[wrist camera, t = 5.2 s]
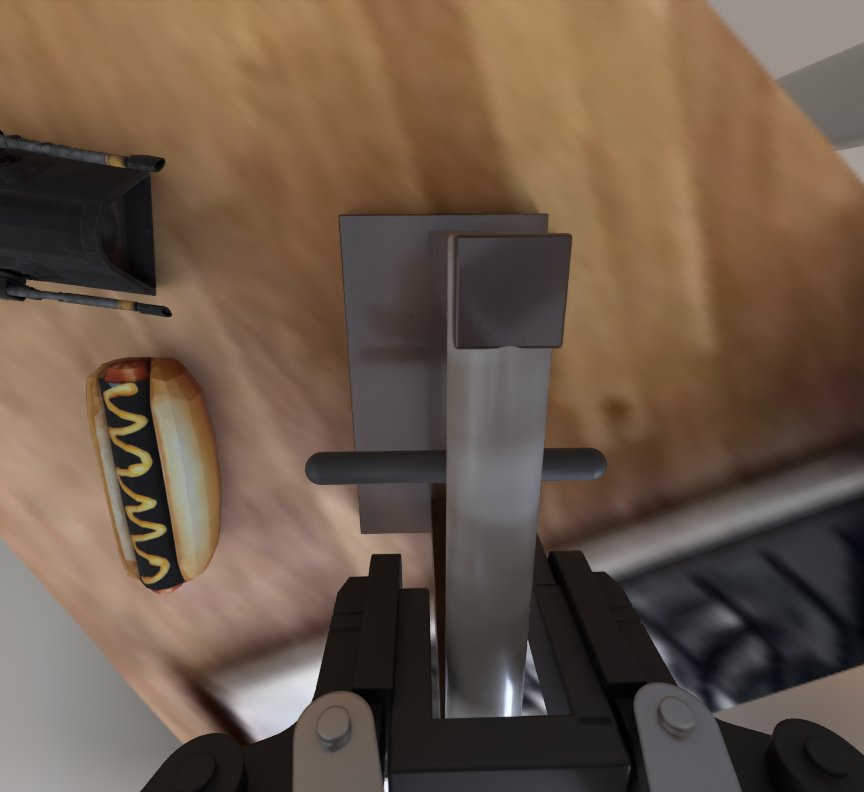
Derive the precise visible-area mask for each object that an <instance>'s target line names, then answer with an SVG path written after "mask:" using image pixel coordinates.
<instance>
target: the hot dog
mask: <svg viewBox="0 0 864 792" xmlns="http://www.w3.org/2000/svg"><path fill="white" fill-rule="evenodd" d="M86 400H87V414H88V420H89V424H90V429H91V433H92V438H93V442H94V447H95V451H96V456H97V460H98V465H99V469H100V473H101V478H102V482H103V487H104V491H105V495H106V500H107V504H108V509H109V513H110V518H111V522H112V526H113V531H114V535H115V539H116V544H117V548H118V553H119V555H120V558H121V561H122V563H123V566H124V569H125V570H126V572H127V574H128V575H129V576H131V577H133V578H135V579H137V580H139V581H141V582H142V583H143V584H144V585H145V586H146V588H149V589H151V590H152V591H153V592H156V593H158V594H161V595H162V594H166V593H171V592H174V591H175V590H176V589H178V588H179V587H180V586H181V585H182V584H183V583H184V582H187V581H190V580H193V579H195V578H196V577H197V576H199V575H200V574H201V573H203V572H204V571H205V570H206V568H207V566H208V565H209V563H210V561H211V559H212V557H213V554H214V552H215V549H216V547H217V544H218V542H219V534H220V513H221V480H220V472H219V464H218V456H217V448H216V440H215V435H214V432H213V428H212V425H211V421H210V417H209V414H208V410H207V407H206V403H205V400H204V396H203V392H202V389H201V387H200V386H199V385H198V383H197V382H196V381H195V379H194V378H193V377H192V375H191V374H190V373H189V371H188V370H187V369H186V368H185V367H184V366H183V365H182V364H181V363H179V362H178V361H176V360H175V359H166V358H152V357H128V358H122V359H117V360H113V361H110V362H107V363H104V364H102V365H101V366H100V367H99V368H98V369H97V370H96V371H95V372H94V373H93V374H91V375H90V376H89V377H88V378H87V386H86Z"/></svg>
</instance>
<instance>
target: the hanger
mask: <svg viewBox="0 0 864 792" xmlns="http://www.w3.org/2000/svg"><path fill="white" fill-rule="evenodd" d="M606 466H607V463H606V459H605V457H604V455H603V454H602V453H601V452H600V451H599V450H597V449H594V448H544V452H543V464H542V476H541V481H560V480H594V479H597V478H599V477H601V476H602V475H603V474H604V472H605V470H606ZM446 470H447V450H418V451H358V452H319V453H316V454H314V455H312V456H311V457H310V458H309V459H308V461H307V463H306V466H305V472H306V475H307V477H308V479H309V480H310V481H311V482H313V483H315V484H318V485H341V484H396V483H446ZM528 642H529V645H530V649H531V653H532V657H533V661H534V664H535V668H536V672H537V676H538V680H539V683H540V687H541V691H542V695H543V698H544V702H545V706H546V710H547V714H548V715H542V716H508V717H474V718H440V719H433V718H432V680H431V641H430V603H429V590H428V588H410V589H399V604H398V622H397V639H396V657H395V674H394V692H393V701H392V702H391V710H390V727H389V746H388V762H387V775H388V792H626V789H627V784H628V779H629V775H630V770H631V759H630V756H629V754H628V751H627V749H626V746H625V744H624V741H623V739H622V736H621V734H620V731H619V727H618V725H617V722H616V720H615V717H614V715H613V712H612V710H611V707H610V705H609V702H608V700H607V697H606V696H605V694H604V692H603V689H602V687H601V684H600V682H599V679H598V677H597V674H596V672H595V669H594V667H593V664H592V661H591V659H590V656H589V654H588V651H587V649H586V646H585V644H584V641H583V639H582V636H581V634H580V631H579V629H578V626H577V624H576V621H575V618H574V616H573V613H572V611H571V608H570V606H569V603H568V601H567V598H566V596H565V593H564V591H563V588H562V586H561V585H557V583H556V580H555V577H554V575H553V572H552V570H551V567H550V565H549V562H548V559H547V557H546V554H545V552H544V549H543V546H542V544H541V541H540V539H539V536H538V534H536V546H535V558H534V570H533V581H532V593H531V605H530V616H529V630H528Z"/></svg>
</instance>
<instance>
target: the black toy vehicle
mask: <svg viewBox="0 0 864 792" xmlns="http://www.w3.org/2000/svg"><path fill="white" fill-rule="evenodd" d="M164 165H165V159H164V158H159V157H154V156H148V155H131V156H130V157H129V158H128V157H125V156H119V155H113V154H107V153H100V152H94V151H88V150H82V149H76V148H70V147H68V146H63V145H54V144H52V143H51V142H46V143H41V142H39V141H33V140H27V139H23V138H21V137H20V136H19V135H11V136H7V135H4V134H3V132H2V131H1V130H0V299H3V300H16V301H24V300H25V299H26V298H29V299H36V300H42V299H53V300H58V301H61V302H68V303H75V304H83V305H91V306H99V307H106V308H114V309H122V310H130V311H139V312H140V313H143V314H150V315H157V316H163V317H171V316H172V313H171V311H170V310H169V309H168V308H167V307H165V306H158V305H150V304H143V303H138V302H133V301H125V300H118V299H110V298H102V297H95V296H87V295H79V294H72V293H62V292H59V293H55V292H47V291H40V290H36V289H35V288H33V287H29V286H27V285H24V284H26V279H28V280H35V281H44V282H54V283H62V284H69V285H77V286H84V287H92V288H99V289H107V290H114V291H122V292H129V293H137V294H144V295H152V296H156V278H155V259H154V240H153V222H152V203H151V185H150V171H151V172H159V171H160V170H161V169H162V168H163V167H164Z"/></svg>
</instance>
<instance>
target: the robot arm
mask: <svg viewBox="0 0 864 792" xmlns="http://www.w3.org/2000/svg"><path fill="white" fill-rule="evenodd" d="M548 562H549V565H550V567H551V570H552V572H553V575H554V577H555V580H556V583H557V585H561V586H562V588H563V591H564V593H565V596H566V598H567V601H568V603H569V606H570V608H571V611H572V613H573V616H574V618H575V621H576V624H577V626H578V629H579V631H580V634H581V636H582V639H583V641H584V644H585V646H586V649H587V651H588V654H589V656H590V659H591V661H592V664H593V667H594V669H595V672H596V674H597V677H598V679H599V682H600V684H601V687H602V689H603V692H604V694H605V696H606V697H607V700H608V702H609V705H610V707H611V710H612V712H613V715H614V717H615V720H616V722H617V725H618V727H619V731H620V734H621V736H622V739H623V741H624V744H625V746H626V749H627V751H628V754H629V756H630V759H631V770H630V775H629V779H628V784H627V789H626V792H864V755H863V754H862V753H860V752H859V751H858V750H857V749H856V748H854V747H853V746H852V745H851V744H849V743H848V742H847V741H846V740H845V739H843V738H842V737H840V736H839V735H837V734H836V733H834V732H832V731H831V730H829V729H827V728H825V727H823V726H821V725H819V724H816V723H814V722H810V721H807V720H802V719H786V720H783V721H781V722H779V723H778V724H777V725H776V727H775V728H774V731H773V734H772V735H769V734H765V733H762V732H758V731H755V730H751V729H747V728H744V727H740V726H736V725H733V724H730V723H727V722H724V721H721V720H719V719H717V718H715V717H714V716H713V715H712V713H711V712H710V711H709V710H708V708H707V707H706V706H705V705H704V704H703V703H702V702H701V701H700V700H699V699H697V698H696V697H695V696H694V695H692V694H691V693H689V692H687V691H686V690H684V689H682V688H680V687H678V685H677V684H676V682H675V680H674V679H673V677H672V675H671V673H670V672H669V670H668V668H667V666H666V664H665V663H664V661H663V659H662V657H661V656H660V654H659V652H658V650H657V648H656V647H655V645H654V643H653V641H652V640H651V638H650V636H649V634H648V633H647V631H646V629H645V627H644V625H643V624H641V620H640V618H639V617H638V615H637V613H636V611H635V609H633V608H632V604H631V602H630V601H629V599H628V597H627V595H626V593H625V592H624V590H623V588H622V587H621V586H620V585H619V584H618V583H617V582H616V581H615V580H614V579H612V578H611V577H610V576H609V575H608V574H607V573H606V572H592V570H591V568H590V566H589V564H588V562H587V560H586V558H585V556H584V554H583V553H582V552H581V551H579V550H575V551H550V552H549V556H548ZM399 589H402V562H401V554H372V556H371V562H370V568H369V575H368V576H363V577H349V579H348V580H347V581H346V582H345V584H344V585H343V586H342V588H341V589H340V590H339V592H338V593H337V598H336V602H335V606H334V611H333V615H332V620H331V624H330V631H329V633H328V637H327V642H326V646H325V651H324V655H323V659H322V664H321V668H320V673H319V677H318V681H317V686H316V690H315V694H314V697H313V699H312V702H311V704H310V705H308V706H307V707H306V709H305V710H304V711H303V712H302V714H301V715H300V717H299V719H298V720H297V721H296V722H295V723H294V724H293V725H292V726H290V727H289V728H288V729H286V730H284V731H283V732H281V733H279V734H277V735H274V736H272V737H269V738H267V739H264V740H261V741H258V742H256V743H253V744H250V745H247V746H245V747H242V748H241V746H240V745H239V743H238V742H237V741H236V740H235V739H234V738H233V737H231V736H229V735H226V734H223V733H211V734H206V735H202V736H199V737H197V738H194V739H192V740H190V741H189V742H187V743H185V744H184V745H182V746H181V747H180V748H178V749H177V750H176V751H175V752H174V753H173V754H171V755H170V757H169V758H168V759H167V760H166V761H165V762H164V763H163V764H162V766H161V767H160V768H159V769H158V771H157V772H156V773H155V774H154V775H153V777H152V778H151V779H150V780H149V782H148V783H147V784H146V785H145V787H144V788H143V789H142V790H141V791H140V792H385V791H384V781H385V774H387V762H388V746H389V727H390V710H391V702H392V701H393V692H394V674H395V657H396V639H397V622H398V604H399Z"/></svg>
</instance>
